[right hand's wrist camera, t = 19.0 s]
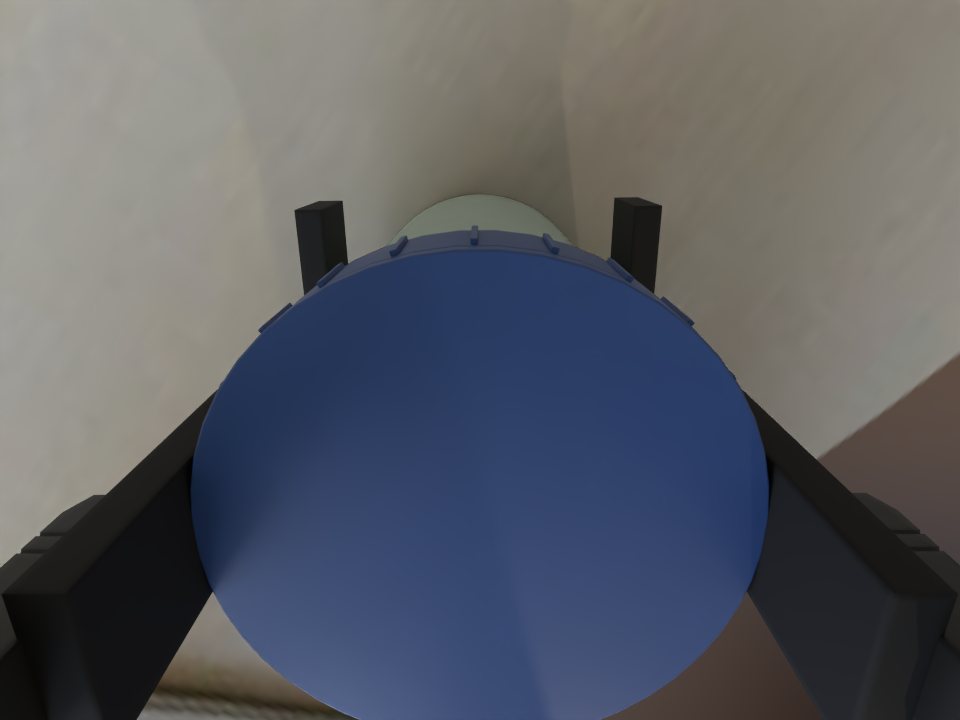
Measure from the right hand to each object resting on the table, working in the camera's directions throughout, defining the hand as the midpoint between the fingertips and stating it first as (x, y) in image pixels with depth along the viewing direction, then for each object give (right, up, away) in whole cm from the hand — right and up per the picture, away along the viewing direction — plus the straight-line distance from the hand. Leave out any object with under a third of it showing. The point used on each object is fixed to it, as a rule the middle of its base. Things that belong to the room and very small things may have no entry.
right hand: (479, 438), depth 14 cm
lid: (0, -1, -3) cm, 3 cm away
